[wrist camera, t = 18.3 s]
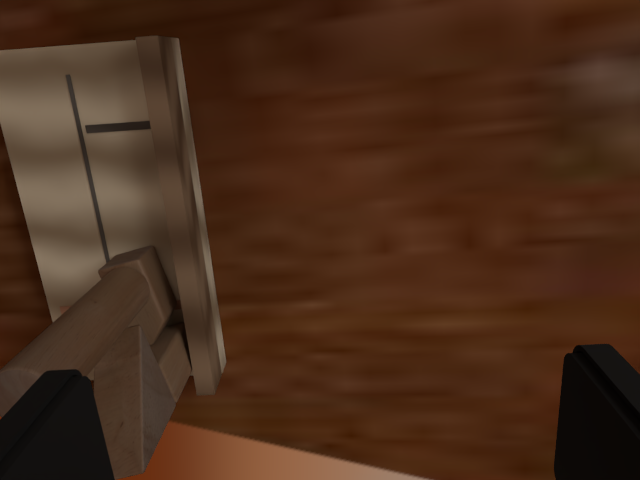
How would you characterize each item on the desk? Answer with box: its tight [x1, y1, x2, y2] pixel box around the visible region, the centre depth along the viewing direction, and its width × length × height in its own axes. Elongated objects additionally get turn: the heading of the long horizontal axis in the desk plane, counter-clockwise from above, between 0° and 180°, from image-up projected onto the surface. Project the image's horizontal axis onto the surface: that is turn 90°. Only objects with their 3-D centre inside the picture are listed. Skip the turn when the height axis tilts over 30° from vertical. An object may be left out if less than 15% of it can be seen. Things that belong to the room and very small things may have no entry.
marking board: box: [0, 36, 226, 395], centre depth 42 cm, size 28×14×5 cm, turn 4°
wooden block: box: [0, 246, 192, 480], centre depth 36 cm, size 4×11×18 cm, turn 17°
